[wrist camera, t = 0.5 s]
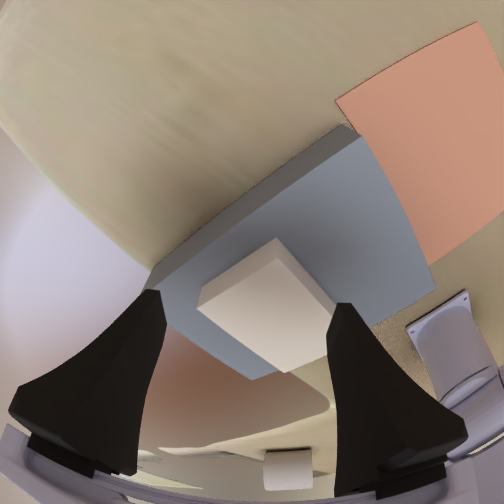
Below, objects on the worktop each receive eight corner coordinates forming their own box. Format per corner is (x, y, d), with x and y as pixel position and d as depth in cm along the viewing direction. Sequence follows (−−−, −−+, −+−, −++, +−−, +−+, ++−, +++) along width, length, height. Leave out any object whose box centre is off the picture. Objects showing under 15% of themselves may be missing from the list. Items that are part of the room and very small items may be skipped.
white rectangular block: (349, 320, 19) (354, 341, 18) (283, 352, 22) (284, 372, 20) (276, 237, 16) (277, 257, 14) (202, 286, 18) (196, 308, 16)
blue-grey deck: (416, 258, 21) (436, 288, 18) (253, 347, 28) (251, 380, 24) (342, 123, 16) (362, 135, 12) (153, 267, 23) (137, 300, 19)
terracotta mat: (530, 184, 16) (531, 185, 15) (425, 265, 21) (426, 267, 21) (477, 21, 9) (478, 21, 9) (334, 100, 15) (335, 101, 15)
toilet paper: (311, 444, 48) (313, 485, 40) (310, 454, 53) (312, 489, 45) (264, 447, 49) (262, 487, 41) (269, 457, 55) (268, 492, 46)
